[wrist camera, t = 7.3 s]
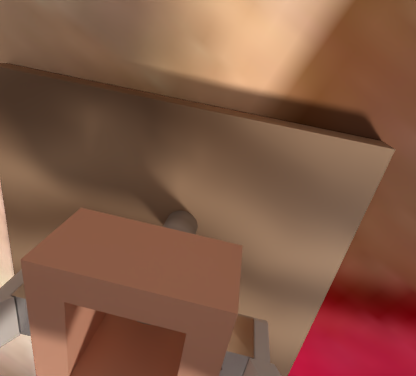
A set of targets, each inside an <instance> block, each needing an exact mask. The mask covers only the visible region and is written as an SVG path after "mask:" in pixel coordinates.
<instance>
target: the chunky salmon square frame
mask: <svg viewBox="0 0 416 376" xmlns="http://www.w3.org/2000/svg"><path fill="white" fill-rule="evenodd" d="M242 247H243V246H242V245H238V244H234V243H230V242H225V241H221V240H217V239H213V238H208V237H204V236H200V235H196V234H191V233H187V232H183V231H179V230H174V229H170V228H166V227H162V226H157V225H153V224H149V223H145V222H140V221H136V220H132V219H128V218H123V217H119V216H115V215H111V214H106V213H102V212H98V211H94V210H89V209H85V208H80V209H79V210H78V211H76V212H75V213H74V214H73V215H72V216H71V217H69V218H68V219H67V220H66V221H65V222H64V223H62V224H61V225H60V226H59V227H58V228H57V229H55V230H54V231H53V232H52V233H51V234H50V235H48V236H47V237H46V238H45V239H44V240H43V241H41V242H40V243H39V244H38V245H37V246H36V247H34V248H33V249H32V250H31V251H30V252H29V253H27V254H26V255H25V256H24V257H23V258H22V259H20V260H21V268H22V275H23V282H24V289H25V297H26V304H27V311H28V319H29V326H30V333H31V340H32V348H33V355H34V362H35V370H36V376H219V374H220V370H221V367H222V364H223V361H224V358H225V354H226V351H227V348H228V345H229V342H230V338H231V335H232V332H233V329H234V325H235V322H236V319H237V316H238V308H239V292H240V277H241V262H242ZM135 320H136V321H135ZM137 321H139V322H137ZM140 322H143V323H147V324H151V325H147V324H142V323H140Z"/></svg>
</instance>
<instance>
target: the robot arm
mask: <svg viewBox="0 0 416 376" xmlns="http://www.w3.org/2000/svg"><path fill="white" fill-rule="evenodd" d="M20 334H24V335H28V336H31V333H30V326H29V319H28V311H27V304H26V297H25V289H24V282H23V275H22V269H21V270H20V271H19V272H18V273H17V274H16V275H14V276H13V277H12V278H11V279H10V280H9V281H8V282H7V283H5V284H4V285H3V286H2V287H1V288H0V347H1V346H3V345H4V344H6V343H8V342H9V341H11V340H13V339H14V338H16V337H18V336H19V335H20ZM219 376H281V374H280V373H279V371H278V369H277V368H276V366H275V364H272V363H270V350H269V331H268V322H267V321H266V320H262V319H258V318H253V317H250V316H246V315H242V314H238V316H237V319H236V322H235V325H234V329H233V332H232V335H231V338H230V342H229V345H228V348H227V351H226V354H225V358H224V361H223V364H222V367H221V370H220V374H219Z"/></svg>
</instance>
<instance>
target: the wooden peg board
mask: <svg viewBox="0 0 416 376" xmlns="http://www.w3.org/2000/svg"><path fill="white" fill-rule="evenodd" d="M394 151H395V149H394V148H392V147H391V146H389V145H387V144H386V143H384V142H383V141H380V140H375V139H370V138H365V137H360V136H355V135H351V134H346V133H341V132H336V131H331V130H326V129H322V128H317V127H312V126H307V125H302V124H297V123H293V122H288V121H283V120H278V119H273V118H269V117H264V116H259V115H254V114H249V113H244V112H240V111H235V110H230V109H225V108H220V107H215V106H211V105H206V104H201V103H196V102H191V101H186V100H182V99H177V98H172V97H167V96H162V95H158V94H153V93H148V92H143V91H138V90H133V89H129V88H124V87H119V86H114V85H109V84H104V83H100V82H95V81H90V80H85V79H80V78H75V77H71V76H66V75H61V74H56V73H51V72H47V71H42V70H37V69H32V68H27V67H22V66H18V65H13V64H8V63H0V180H1V186H2V193H3V200H4V207H5V213H6V220H7V227H8V234H9V240H10V247H11V254H12V261H13V267H14V274H15V275H16V274H17V273H18V272H19V271H20V270H21V269H22V268H21V260H20V259H22V258H23V257H24V256H25V255H26V254H27V253H29V252H30V251H31V250H32V249H33V248H34V247H36V246H37V245H38V244H39V243H40V242H41V241H43V240H44V239H45V238H46V237H47V236H48V235H50V234H51V233H52V232H53V231H54V230H55V229H57V228H58V227H59V226H60V225H61V224H62V223H64V222H65V221H66V220H67V219H68V218H69V217H71V216H72V215H73V214H74V213H75V212H76V211H78V210H79V209H80V208H85V209H89V210H94V211H98V212H102V213H106V214H111V215H115V216H119V217H123V218H128V219H132V220H136V221H140V222H145V223H149V224H153V225H157V226H162V227H166V228H170V229H174V230H179V231H183V232H187V233H191V234H196V235H200V236H204V237H208V238H213V239H217V240H221V241H225V242H230V243H234V244H238V245H242V246H243V247H242V262H241V277H240V292H239V308H238V314H242V315H246V316H250V317H253V318H258V319H262V320H266V321H267V322H268V331H269V350H270V363H272V364H275V366H276V368H277V369H278V371H279V373H280V374H281V376H288V374H289V372H290V369H291V367H292V365H293V363H294V361H295V359H296V357H297V355H298V353H299V351H300V348H301V346H302V344H303V342H304V340H305V338H306V336H307V334H308V332H309V330H310V327H311V325H312V323H313V321H314V319H315V317H316V315H317V313H318V311H319V309H320V306H321V304H322V302H323V300H324V298H325V296H326V294H327V292H328V290H329V288H330V285H331V283H332V281H333V279H334V277H335V275H336V273H337V271H338V269H339V267H340V265H341V262H342V260H343V258H344V256H345V254H346V252H347V250H348V248H349V246H350V244H351V241H352V239H353V237H354V235H355V233H356V231H357V229H358V227H359V225H360V223H361V220H362V218H363V216H364V214H365V212H366V210H367V208H368V206H369V204H370V202H371V199H372V197H373V195H374V193H375V191H376V189H377V187H378V185H379V183H380V181H381V179H382V176H383V174H384V172H385V170H386V168H387V166H388V164H389V162H390V160H391V158H392V155H393V153H394ZM135 321H136V320H135ZM137 322H139V321H137ZM140 323H142V324H147V323H143V322H140ZM147 325H151V324H147Z"/></svg>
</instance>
